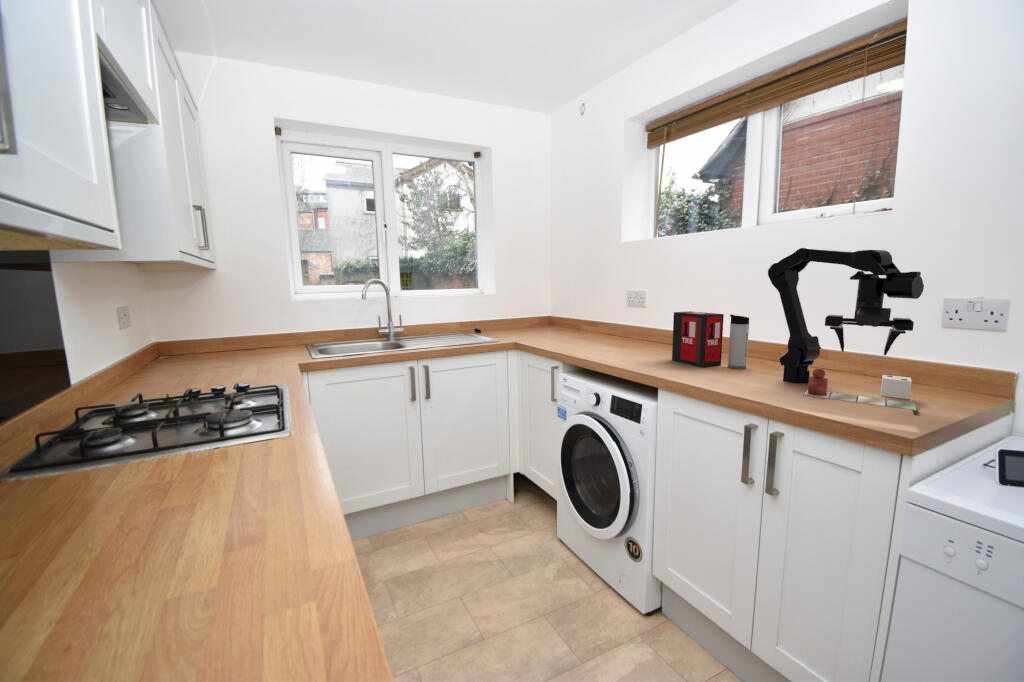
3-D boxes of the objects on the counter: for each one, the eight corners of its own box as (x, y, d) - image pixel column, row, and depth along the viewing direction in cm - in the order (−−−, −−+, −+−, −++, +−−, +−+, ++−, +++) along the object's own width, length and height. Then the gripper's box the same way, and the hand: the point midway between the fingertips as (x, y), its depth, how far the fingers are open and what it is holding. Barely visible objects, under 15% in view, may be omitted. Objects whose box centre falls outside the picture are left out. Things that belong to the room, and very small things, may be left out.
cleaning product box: (720, 365, 172) (723, 314, 169) (703, 367, 168) (706, 315, 165) (688, 358, 187) (690, 311, 184) (671, 360, 183) (673, 312, 180)
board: (802, 399, 125) (802, 395, 124) (806, 392, 131) (806, 388, 131) (917, 414, 109) (917, 410, 109) (915, 406, 116) (915, 402, 116)
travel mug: (724, 365, 172) (727, 314, 169) (742, 365, 171) (746, 314, 168) (730, 369, 166) (733, 315, 163) (749, 369, 165) (752, 315, 162)
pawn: (806, 394, 126) (808, 368, 125) (808, 390, 129) (810, 366, 128) (825, 396, 123) (828, 370, 122) (827, 393, 126) (829, 368, 125)
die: (880, 399, 123) (882, 378, 123) (880, 395, 128) (882, 374, 127) (909, 403, 120) (911, 381, 119) (908, 398, 124) (910, 377, 123)
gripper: (826, 297, 120) (820, 354, 122) (919, 299, 109) (911, 362, 111) (828, 295, 129) (822, 348, 131) (914, 297, 118) (906, 355, 120)
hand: (863, 353), depth 123 cm, fingers open, 9 cm apart
